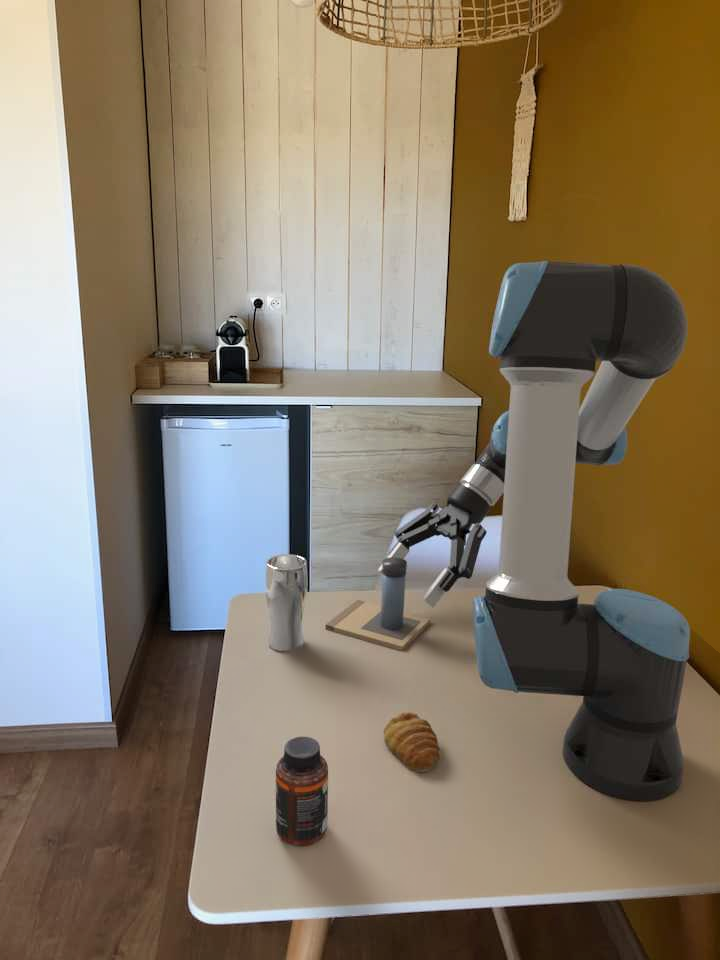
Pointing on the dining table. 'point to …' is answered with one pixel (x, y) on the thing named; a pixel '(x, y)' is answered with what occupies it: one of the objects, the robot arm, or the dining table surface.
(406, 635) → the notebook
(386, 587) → the blue bottle
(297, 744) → the supplement bottle
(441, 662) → the dining table surface
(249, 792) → the dining table surface
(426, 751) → the pastry
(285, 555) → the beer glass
